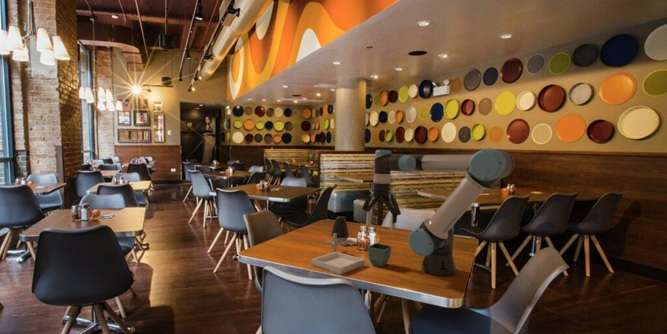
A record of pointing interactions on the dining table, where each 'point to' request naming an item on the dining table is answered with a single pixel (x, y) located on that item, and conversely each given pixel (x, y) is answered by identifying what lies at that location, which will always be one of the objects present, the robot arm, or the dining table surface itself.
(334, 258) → the tray
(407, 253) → the dining table surface
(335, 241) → the pipe connector
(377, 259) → the flower pot
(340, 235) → the egg in egg cup
